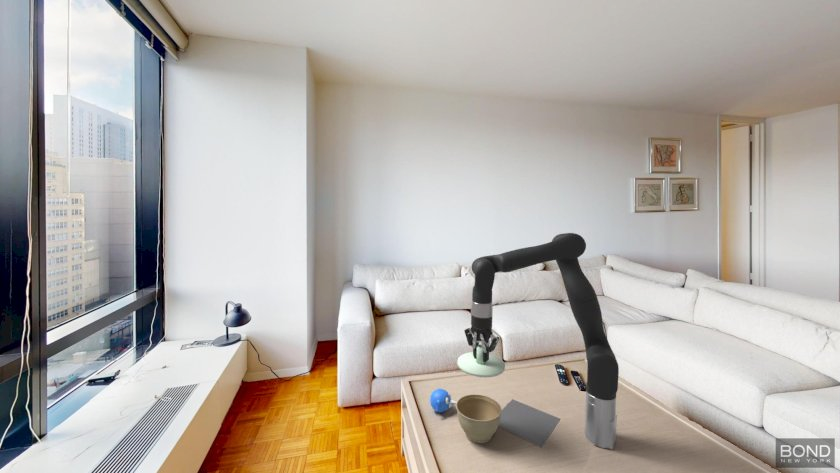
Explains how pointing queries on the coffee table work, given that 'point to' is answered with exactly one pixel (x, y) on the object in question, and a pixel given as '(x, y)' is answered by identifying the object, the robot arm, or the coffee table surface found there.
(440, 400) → the blue mole toy
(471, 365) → the lid
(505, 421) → the mat
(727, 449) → the coffee table surface
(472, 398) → the planter bowl
